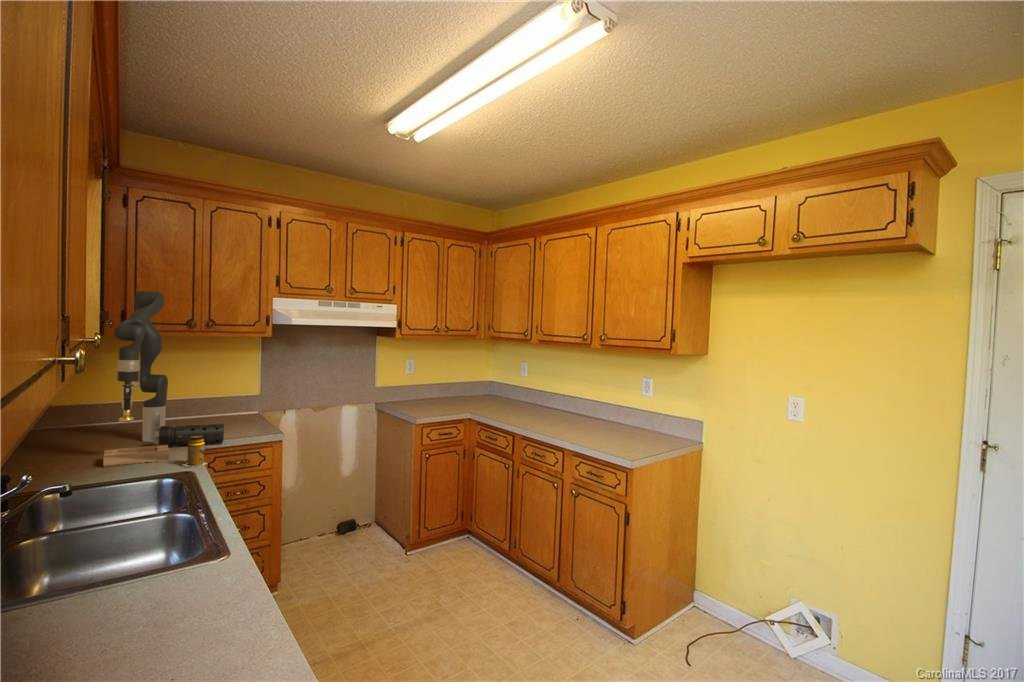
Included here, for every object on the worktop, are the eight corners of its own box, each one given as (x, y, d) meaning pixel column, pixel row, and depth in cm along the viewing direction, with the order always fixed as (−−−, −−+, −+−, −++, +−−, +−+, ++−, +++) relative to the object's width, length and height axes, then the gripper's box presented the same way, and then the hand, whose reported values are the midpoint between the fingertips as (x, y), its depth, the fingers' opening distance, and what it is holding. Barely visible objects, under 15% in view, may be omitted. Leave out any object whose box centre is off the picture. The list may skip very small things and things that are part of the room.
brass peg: (119, 420, 216) (120, 388, 216) (133, 419, 219) (134, 388, 219) (119, 422, 212) (120, 389, 212) (133, 421, 215) (134, 389, 215)
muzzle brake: (222, 445, 244) (223, 425, 244) (153, 450, 230) (154, 428, 230) (223, 441, 252) (224, 421, 252) (156, 445, 238) (157, 424, 238)
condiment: (208, 463, 212) (209, 436, 212) (187, 468, 204) (188, 439, 204) (198, 461, 215) (199, 434, 215) (177, 465, 208) (178, 437, 208)
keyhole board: (104, 460, 210) (104, 450, 209) (167, 454, 223) (167, 444, 223) (103, 467, 200) (103, 456, 200) (168, 460, 214) (169, 450, 214)
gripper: (118, 368, 219) (116, 407, 219) (116, 371, 207) (115, 412, 207) (139, 368, 223) (137, 406, 223) (139, 371, 212) (137, 411, 212)
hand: (127, 408), depth 215 cm, fingers closed on brass peg, 3 cm apart
